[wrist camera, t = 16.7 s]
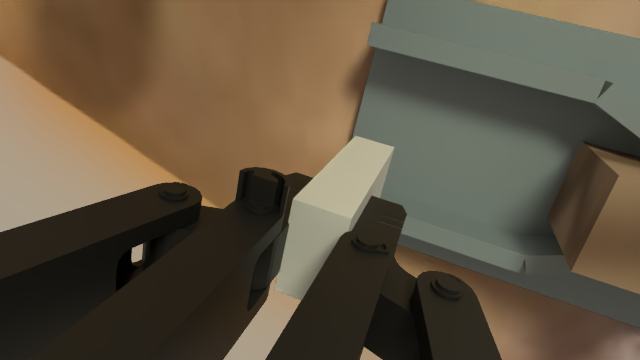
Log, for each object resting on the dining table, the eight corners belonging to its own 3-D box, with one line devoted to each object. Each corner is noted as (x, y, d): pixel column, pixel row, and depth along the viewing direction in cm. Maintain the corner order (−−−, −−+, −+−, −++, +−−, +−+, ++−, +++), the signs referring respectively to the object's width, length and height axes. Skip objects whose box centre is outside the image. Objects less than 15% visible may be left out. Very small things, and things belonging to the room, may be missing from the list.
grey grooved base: (395, -15, 28) (356, -41, 18) (855, 88, 23) (1139, 129, 13) (334, 215, 34) (281, 289, 24) (691, 337, 29) (805, 491, 19)
